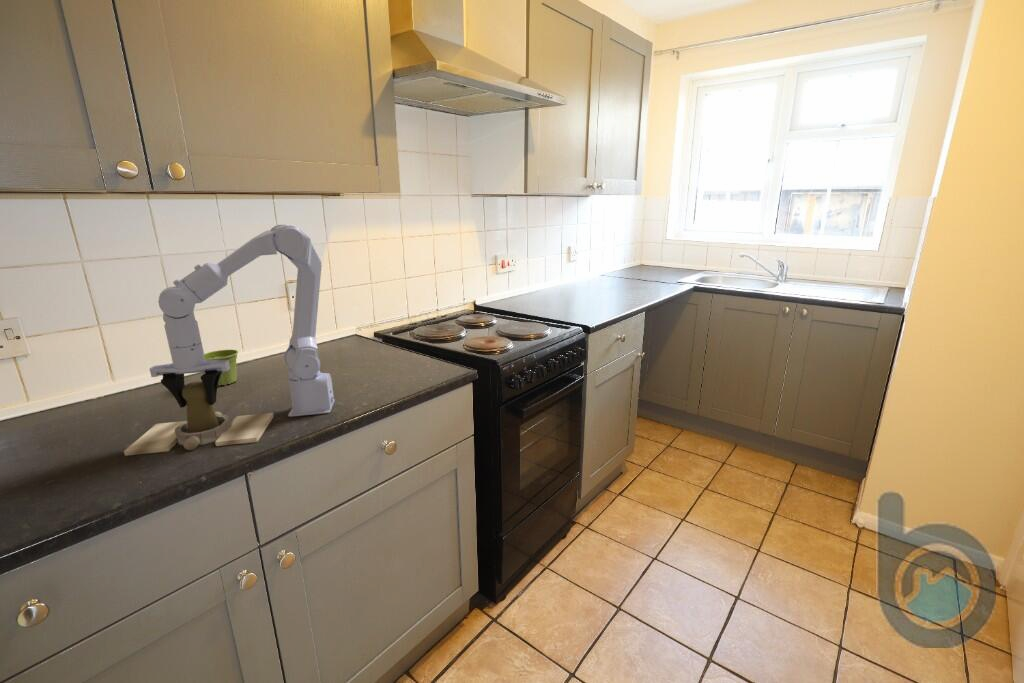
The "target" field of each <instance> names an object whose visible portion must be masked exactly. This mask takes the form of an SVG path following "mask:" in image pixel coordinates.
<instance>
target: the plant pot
mask: <svg viewBox="0 0 1024 683" xmlns="http://www.w3.org/2000/svg"><path fill="white" fill-rule="evenodd" d="M238 354H239V351H238V349H237V350H236V349H221V350H220V349H219V350H214V351H209V352H205V353H204V356H205V360H220V361H223V360H229V364H230V369H229V370H228V371H225V372H222V374H221V376H220V379H219V382H218V385H224V386H228V385H227V384H230V385H232V384H233V383H236V382H237V381H238V376H237V372H238V371H237V359H238ZM236 380H237V381H236ZM235 381H236V382H235ZM231 383H232V384H231Z"/></svg>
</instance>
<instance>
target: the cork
mask: <svg viewBox="0 0 1024 683" xmlns="http://www.w3.org/2000/svg"><path fill="white" fill-rule="evenodd" d="M182 396H183V398H184V399H185V400H186V402H187V405H186V421H187V429H188V433H197V432H203V431H207V430H210V429H213V428H215V427H217V426H219V423H218V420H217V417H216V415H215V412H216V411H215V410H214V407H213V405H209V403H208V399H207V393H206V390H205V387H204V384H203V382H202V380H201V381H193V382H189V383H187V384H185V386H184V387H183V388H182Z"/></svg>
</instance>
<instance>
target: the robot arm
mask: <svg viewBox="0 0 1024 683" xmlns="http://www.w3.org/2000/svg"><path fill="white" fill-rule="evenodd" d="M278 253H280V254H281V255H283V256H285V257H286V258H287V259H288V260H289V261H290V262H291V263H292V264H293V265H294V266H295V267H296V268H297V275H296V287H295V288H296V289H295V299H294V311H293V312H294V313H293V323H292V335H291V336H290V339H289V345H288V347H287V349H286V351H285V352H284V355H283V359H284V363H285V365H286V366H287V367H288V368H289V369H290V370H289V372H288V373H287V379H288V380H287V381H288V387H289V392H290V393H289V394H290V400H291V404H292V405H291V406H292V407H291V409H290V411H289V412H288V415H287V416H288V417H289V418H290V417H301V416H310V415H311V416H312V415H320V414H321V415H323V414H329V413H331V411H332V409H333V406H334V404H335V402H336V401H335V400H336V399H335V398H334V397H335V396H334V389H333V381H332V380H333V379H332V376H331V374H330V373H328V372H321V370H320V369H321V360H320V358H319V356H318V348H319V347H318V344H317V340H316V339H317V338H316V332H317V322H318V320H317V319H318V309H319V298H320V290H321V289H320V287H321V278H322V277H321V276H322V266H323V265H322V261H321V259H320V257H319V254H318V253H317V252H316V249H315V248H314V245H313V244H312V241H311V238H310V236H309V235H307V234H306V233H305V232H304V231H303V230H302V229H301V228H299V227H297V226H295V225H286V224H277V225H275V226H273V227H271V228H270V229H269V230H265V231H263V232H261V233H260V234H258V235H256V236H254V237H252V238H251V239H250V240H249V241H247V242H246V243H244V244H242V245H241V246H240V247H238V248H237V249H236V250H234V251H233V252H232V253H231V254H229V255H227V256H226V257H225V258H223V259H222V260H220V261H218V263H209V262H205V263H204V264H203V265H201V264H200V263H198V264H196V265H195V266H194V267H193V269H194V270H193V271H192V272H191V273H189V274H187V275H186V276H184V277H183V278H182V279H180V280H179V279H175V280H174V281H173V282H172V284H173V285H174V286H168V287H166V288H164V289H163V290H162V291H161V292H160V293H159V296H158V306H159V309H160V311H161V312H163V315H162V320H163V322H164V331H165V334H166V340H167V344H168V348H169V353H170V355H171V361H172V363H167V364H158V365H157V364H156V365H153V366H151V367H150V368H149V373H150V377H151V378H156V377H161V376H162V379H160V384H161V385H162V386H164V387H165V388H166V389H167V390H168V391H169V392H170V393H171V394H172V396H173V397H174V399H175V400H176V402H177V403H178V405H179V407H180V408H185V407H187V402H186V400H185V399H184V398H183V396H182V388H183V387H184V386H185V385H186V384H185V374H186V375H187V374H195V373H196V374H197V373H203V374H202V375H201V376H200V380H201V382H203V384H204V387H205V390H206V393H207V399H208V403H209V405H212V406H213V405H215V403H216V402H217V393H218V387H219V386H218V382H219V379H220V376H221V374H222V372H225V371H228V370H229V369H230V364H229V360H223V361H220V360H205V356H204V354H205V352H204V347H203V343H202V337H201V333H200V328H199V324H198V321H197V319H196V317H195V312H194V310H195V306H196V304H202V303H203V302H204V301H206V300H207V299H209V298H210V297H212V296H213V295H215V294H217V292H219V291H220V290H222V289H223V288H225V287H226V286H228V278H229V277H230V276H231V275H232V274H234V273H235V272H237V271H239V270H240V269H242V268H244V267H245V266H247V265H248V264H250V263H251V262H253V261H254V260H256V259H257V258H259V257H261V256H272V255H278Z"/></svg>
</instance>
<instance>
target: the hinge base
mask: <svg viewBox="0 0 1024 683" xmlns="http://www.w3.org/2000/svg"><path fill="white" fill-rule="evenodd" d="M214 412H215V415H216V417H217V420H218V423H219V426H217V427H215V428H213V429H210V430H207V431H203V432H197V433H188V429H187V420H182V421H172V422H170V421H169V422H163V423H161V422H160V423H155V424H154V425H153V426H152V427H151V428H149V429H148V430H147V431H146V432H145V433H144V434H143V435H141V436H140V437H139V438H137V440H135V441H134V442H133V443H132V444H131V445H129V446H128V447H127V448H126V449H125V450H123V453H124V456H125V457H127V456H134V455H144V454H154V453H155V454H156V453H162V452H163V453H165V452H170V450H172V448H173V447H175V445H176V444H178V445H179V446H183V447H184V449H185V450H187V451H193V450H195V449H196V448H197V447H198V446H203V445H206V444H210V443H215V446H216V447H221V446H222V447H224V446H230V445H231V446H232V445H239V444H241V445H242V444H250V443H251V444H252V443H258V441H259V440H260V438H261V437H262V436H263V434H264V433H265V431H266V429H267V428H268V426H269V425H270V424H271V422H272V420H273V419H274V418H275V415H274V412H268V413H267V412H266V413H257V414H247V415H246V414H244V415H236V416H235V418H234V419H233V420H232V419H231V418H230V417H229V415H226V414H223V413H222V412H220V411H214Z"/></svg>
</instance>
